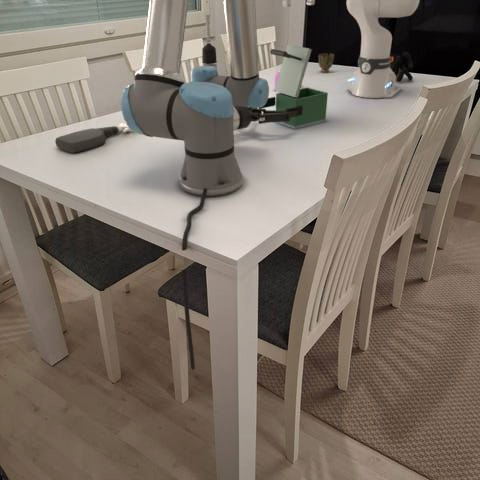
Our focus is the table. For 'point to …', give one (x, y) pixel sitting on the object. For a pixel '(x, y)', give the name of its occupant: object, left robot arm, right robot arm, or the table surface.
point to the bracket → (276, 78)
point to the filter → (208, 49)
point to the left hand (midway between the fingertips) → (287, 105)
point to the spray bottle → (88, 138)
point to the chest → (304, 107)
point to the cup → (325, 61)
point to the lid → (292, 69)
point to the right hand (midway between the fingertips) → (298, 6)
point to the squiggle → (401, 66)
